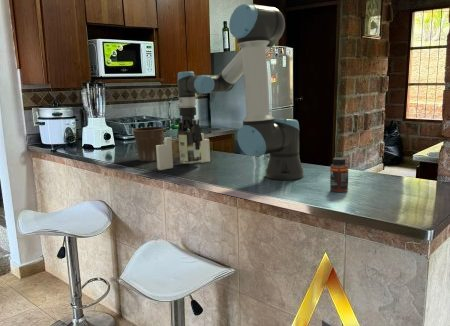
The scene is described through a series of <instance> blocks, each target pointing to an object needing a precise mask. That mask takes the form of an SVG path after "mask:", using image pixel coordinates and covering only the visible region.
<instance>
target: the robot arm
mask: <svg viewBox="0 0 450 326" xmlns="http://www.w3.org/2000/svg"><path fill="white" fill-rule="evenodd" d="M229 18H230V19H229V24H228V25H229V31H230V34H231V35H232V37H234V38H235V39H236V42H237V43H236V44H237V47H239V48H240V50H239V51H238V53H237V54H235V56H234V57H233V58H232V59H231V61H230V62H228V64H227V65H226V66H225V67H224V68H223V69H222V70H221V72H219V74H211V75H210V74H209V75H208V74H201V75H200V74H199V75H195V72H194V71H180V72H179V71H178V73H177V90H178V91H177V92H178V93H177V94H178V105H179V108H178V109H179V116H180V117H179V118H177V120H178V124H177V132H178V131H187V130H190V132H195V134H193V140H194V142H193V151H194V157H200V152H199V149H200V147H199V142H200V141H202V136H201V133H202V132H201V128H200V119H198V118H197V119H196V117H195V116H196V115H197V107H196V106H197V102H196V101H197V100H196V98H197V97H196V94H202V95H203V94H209V93H210V94H212V93H229V92H233V91H235V89H236V88H237V84H238V83H237V81H238V80H239V79H240V78H241V77H242V76H243V85H244V102H245V113H246V115H245V117H244V118H243V119H242V126H241V127H240V128H239V129H238V132H237V135H236V137H237V143H238V145H239V148H240V150H241V151H243V152H242V153H244V154H245V155H246V156H250V157H261V156H264V155H269V159H268V163H267V166H266V169H265V177H266V178H268V179H271V180H277V181H291V180H298V179H302V178H303V177H304V175H305V173H304V169H303V166H302V163H301V159H300V124H299V121H298V119H288V118H275V117H273V116H272V115H271V113H270V98H269V97H270V96H269V82H268V66H267V65H268V64H267V63H268V62H267V51H266V50H267V49H269V48H273V47H274V46H275V45H276V44H277V43H278V42H279V40H280V39H281V38H282V37H283V34H284V32H285V29H286V22H285V17H284V15H283V13H282V12H281V11H280V10H279V9H278V8H276V7H274V6H269V5H268V6H267V5H260V4H255V3H243V4H240V5H238V6H236V7H235V9H233V12H232V13H231V15H230V17H229ZM176 136H177V137H176V138H177V139H178V133H177V135H176ZM199 138H200V139H199Z"/></svg>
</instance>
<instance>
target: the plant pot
mask: <svg viewBox="0 0 450 326" xmlns="http://www.w3.org/2000/svg"><path fill="white" fill-rule="evenodd" d="M131 131H132V132H133V136H134V137H133V138H134V139H135V144H136V149H137V154H138V161H139V162H148V163H149V162H157V154H156V145H163V144H164V136H165V127H163V126H145V127H137V128H133V129H132V130H131Z"/></svg>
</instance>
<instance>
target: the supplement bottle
mask: <svg viewBox="0 0 450 326" xmlns="http://www.w3.org/2000/svg"><path fill="white" fill-rule="evenodd" d="M332 160H333V163H332V164H330V173H329V175H330V179H329V181H330V182H329V183H330V185H329V186H330V187H329V189H330V191H332V192H333V193H346V192H347V191H349V165H348V164H347V163H346V158H345V157H333V158H332Z"/></svg>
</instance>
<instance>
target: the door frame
mask: <svg viewBox="0 0 450 326" xmlns="http://www.w3.org/2000/svg"><path fill="white" fill-rule="evenodd" d="M201 136H202V141H201V160H202V161H201V162H198V163H199V164H200V163H201V164H202V163H208V162H211V150H210V146H211V145H210V139H209V138H205V133H202V132H201ZM172 141H173V140H172V137H170V136H167V137H163V145H156V154H157V161H156V167H157V170H158V171H162V170H163V171H164V170H168V169H173V168H174V164H173V157H172Z"/></svg>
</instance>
